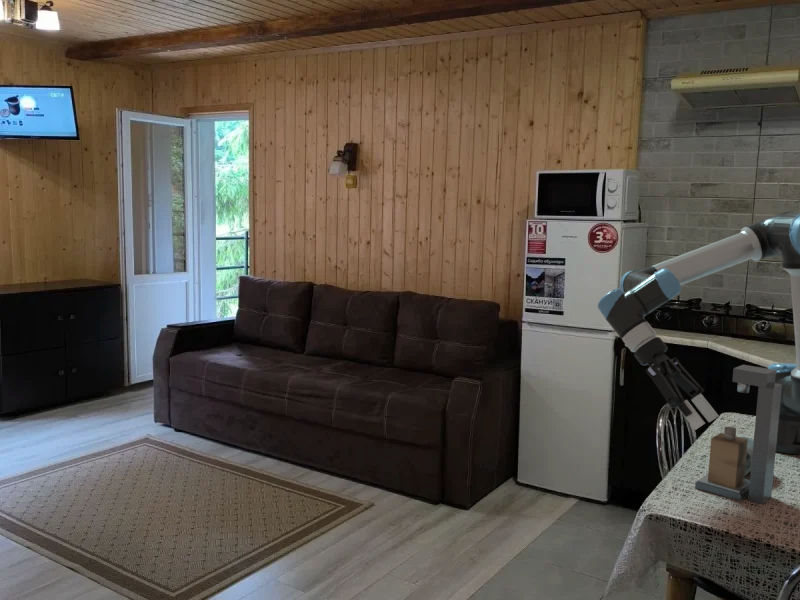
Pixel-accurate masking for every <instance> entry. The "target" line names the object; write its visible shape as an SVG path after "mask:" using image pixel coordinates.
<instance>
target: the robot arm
mask: <svg viewBox="0 0 800 600" xmlns="http://www.w3.org/2000/svg"><path fill="white" fill-rule="evenodd" d="M775 257H781V261H782V263H781V264H782V269H783V270H784V271H786V273H788V274H789V277H790V280H789V281H790V289H791V290H790V291H791V303H792V304H791V305H792V314H793V315H792V316H793V317H792V318H793V327H794V328H793V330H794V331H793V332H794V343H795V344H794V345H795V356H796V357H795V359H796V363H789V362H788V363H787V362H783V363H781V362H777V363H771V364H769V365H768V366H767V369H773V370H776V376H775V383H777V384H782V391H781V402H780V412H779V422H778V433H777V443H776V453H781V454H789V455H800V211H783V212H778V213H776V214H774V215H772V216H769V217H767V218H763V219H761V220H759V221H756V222H753V223H751V224H749V225H746V226H744V227H742V228H741V229H740V232H739V233H736V234H733V235H730V236H728V237H726V238H722V239H720V240H717V241H715V242H712V243H708V244H706V245H704V246H702V247H698V248H696V249H693V250H691V251H688V252H685V253H683V254H680V255H678V256H677V255H676V256H675V257H672V258H669V259H666V260H664V261H662V262H659V263H657V264H654V265H651V266H647V267H645V268H642V269H641V270H639V269H637V270H635V269H634V270H629V271H627V272H625V273H624V274H623V275H622V277H621V279H620V281H619V287H620V288H614V289H613V290H610V291H608V293H606V294H604V295H603V296H602V297H601V298H600V300H599V301H598V303H597V308H598V310H599V311H600V313H601V314H602V316H603V317H604V319H605V321H606V322H607V323H608V324H609V325H610V326H611V328H612V329H613V331H615V332H616V334H617V335H618V336H619V338H620V340H622V342H623V343H624V346H625V347H626V348H628V349H629V350H630V352H631V353H634V354H633V356H634V357H635V359H636V360H637V361H638V362H639V364H640V365H641V366H645V367H646V366H649V367H648V368H647V369H646V370H645V373H646V374H647V376H648V377H649V378H650V379H651V380H652V382H653V383H654V384H655V386H656V387H657V389H658V390H659V391H660V394H661V396H662V397H663V398H664V399H665V401H666V403H667V404H668V405H669V406H670V407H671V408H672V409H675V408H677V409H678V410H679V411H680V413H681V414H682V415H683V417H684V418H685V419H686V421H687V422H688V423H689V424H690V425H691V427H692V428H693V429H694V431H696V430H697V429H699V428H701V427H702V426H703V425H705V424H706V422H705V421H704V420H703V418H702V417H704V418H705V420H706V421H707V422H708V423H711V422H713V420H715V419H717V418H718V417H720V416H719V414H718V413H717V411H716V410H715V409H714V408H713V407H712V405H711V404H710V402H708V400H707V399H706V398H705V397H704V395H703V394H702V393H703V392H704V391H705V390H704V388H703V387H702V386H701V384H699V383H698V381H696V380H695V378H694V377H693V376H692V375H691V374H690V373H689V372H688V370H687V369H686V368H685V367H684V366H683V365H682V364H681V363H680V361H679V359H678V358H677V357H673V358H672V359H671V358H670V357H669V356H668V355H666V352H667V351H668V350H669V349H668V348H669V347H668V346H667V345H666V343H665V342H664V341H663V339H662V338H661V337H659V336H657V335H658V333H657V332H656V330H655V329H654V328H653V327H652V326H651V325H650V323H649V322H648V320H646V319H645V317H646V316H647V315H649V314H651V313H652V312H653V311H655V310H656V309H658V308H660V307H661V306H663V305H665V304H666V303H667V302H669V301H671V300H673V298H675V297H676V296H677V295H679V294H680V293H681V291H682V285H685V284H687V283H690V282H692V281H696V280H698V279H701V278H703V277H706V276H709V275H712V274H714V273H718V272H721V271H722V270H725V269H728V268H731V267H733V266H737V265H740V264H742V263H744V262H747V261H749V260H751V261H754V262H759V261H762V260H764V259H767V258H775ZM679 388H680V389H682V390H683V391H684V392H685V393H686V394H687V395H688V396H689V397H690V398H691V402H692V403H693V405H695V407H696V409H697V410H698V411H699V412H700V413H701V415H702V417H701V416H700V414H699V413H698V412H697V411H696V409H695V408H694V407H693V405H692V404H691V403H690V402H689V400H688V399H684V396H683V395H682V393H681V391H680V389H679Z"/></svg>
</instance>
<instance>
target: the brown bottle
mask: <svg viewBox="0 0 800 600" xmlns="http://www.w3.org/2000/svg"><path fill="white" fill-rule="evenodd" d="M741 437H742V436H737V428H736V427H733V426H724V432H720V433H718V434H716V435H715V436H713V437H711V439H710V440H711V441H710V450H709V461H708V462H709V463H708V473H707V474H708V480H709V481H713V482H716V483H720V484H724V485H727V486H731V487H734V488H735V487H736V486H738V485H739V484H740V483H742V482H743V481H744V479H745V476H746V475H745V464H746V453H747V442H748V439H746V438H741ZM744 475H745V476H744Z"/></svg>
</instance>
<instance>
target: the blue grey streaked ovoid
mask: <svg viewBox="0 0 800 600" xmlns="http://www.w3.org/2000/svg"><path fill="white" fill-rule="evenodd" d="M740 437H741V438H746V439H748V442H747V453H746V464H745V475H744V477H745V476H747V475H748V474H749V473H751V464H752V454H753V443H754V439H752V438H750V437H747V436H740Z"/></svg>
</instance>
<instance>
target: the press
mask: <svg viewBox="0 0 800 600" xmlns="http://www.w3.org/2000/svg"><path fill="white" fill-rule="evenodd" d="M775 376H776V370H773V369H768V367H767V368H766V367H760V366H753V365H747V364H742V365H739V366H736V367H734V368H733V371H732V382H733V383H737V390H736V391H737V392H738V393H742V394H749V393H750V388H751V387H750V386H755V387H758V389H757V401H756V412H755V422H754V435H753V441H754V443H753V454H752V464H751V471H750V478H749V479H747V478H744V481H743V482H742V483H740V484H739V485H738V486H736V487H735V488H734V487H731V486H727V485H724V484H720V483H716V482H713V481H709V480H708V473H706V475H704V476H702V477H701V478H700V479H698V480H695V483H694V488H695V490H700V491H702V492H707V493H709V494H713V495H717V496H719V497H720V496H721V497H724V498H727V499H731V500H734V501H738V502H741V501H743V500H744V499H745V498H746V497H748V500H747V501H749V502H753V503H757V504H760V505H764V504H765V503H766V502H767V501H769V499H771V498H772V493H773V486H774V485H773V482H774V473H775V463H776V453H777V452H776V443H777V433H778V422H779V412H780V402H781V391H782V384H777V383H775Z"/></svg>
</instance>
